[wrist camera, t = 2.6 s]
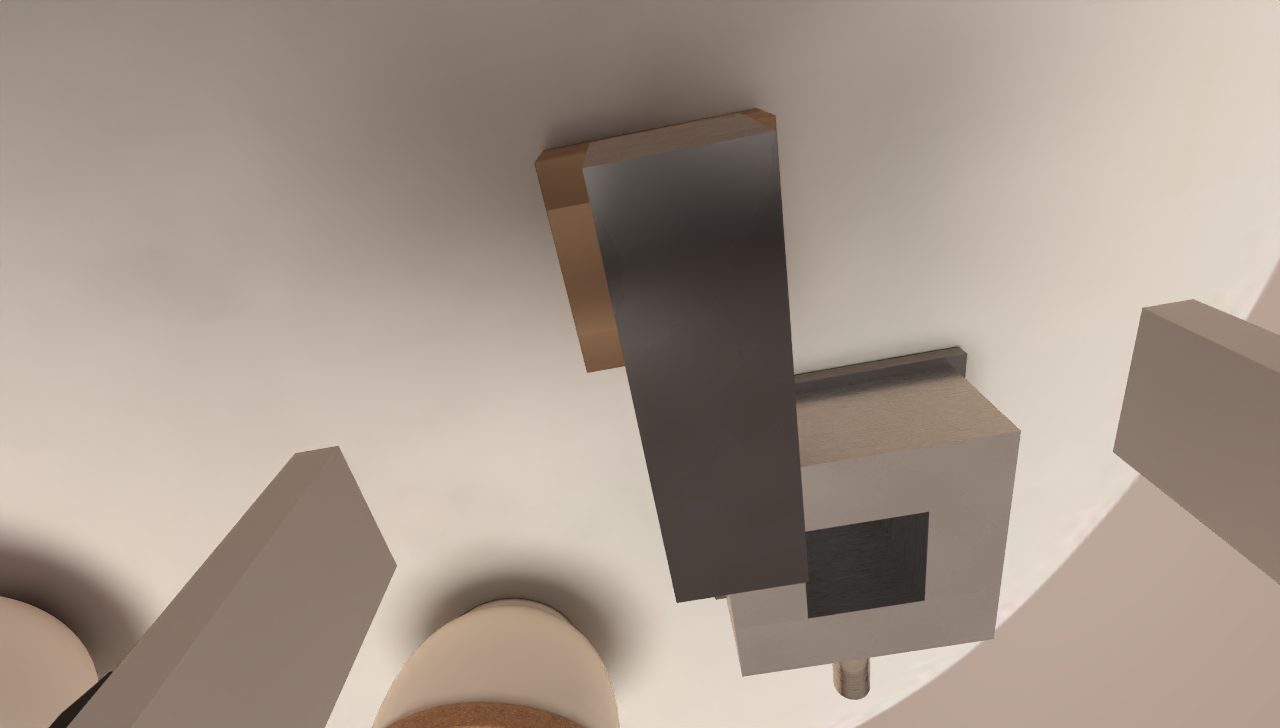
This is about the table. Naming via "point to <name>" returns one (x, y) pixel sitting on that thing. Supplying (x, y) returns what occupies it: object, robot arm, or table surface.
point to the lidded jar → (502, 674)
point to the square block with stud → (888, 520)
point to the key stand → (588, 246)
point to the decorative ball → (39, 666)
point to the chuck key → (707, 345)
